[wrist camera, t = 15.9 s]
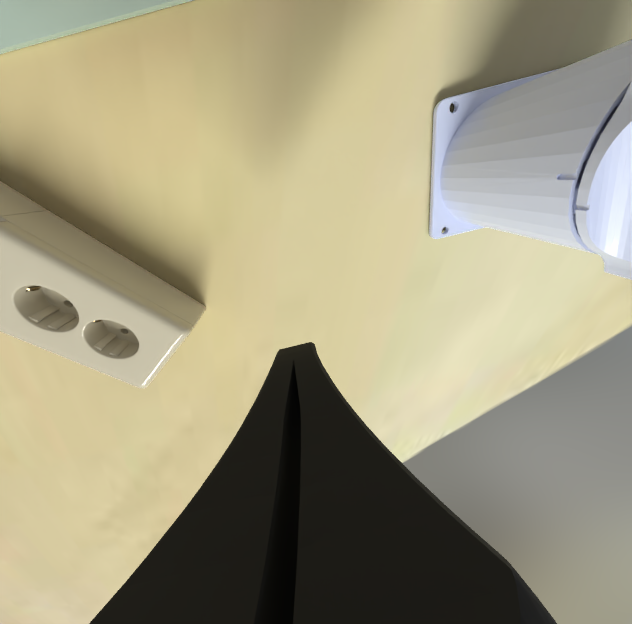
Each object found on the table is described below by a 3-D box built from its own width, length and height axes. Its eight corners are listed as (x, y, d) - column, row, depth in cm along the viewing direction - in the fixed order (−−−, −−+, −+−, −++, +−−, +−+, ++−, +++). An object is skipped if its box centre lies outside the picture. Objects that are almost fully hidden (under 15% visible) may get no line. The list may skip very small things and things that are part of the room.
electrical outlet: (-282, 77, 8) (190, 333, 15) (-111, 108, 12) (208, 305, 19) (-261, 231, 11) (143, 392, 18) (-123, 218, 14) (167, 357, 21)
